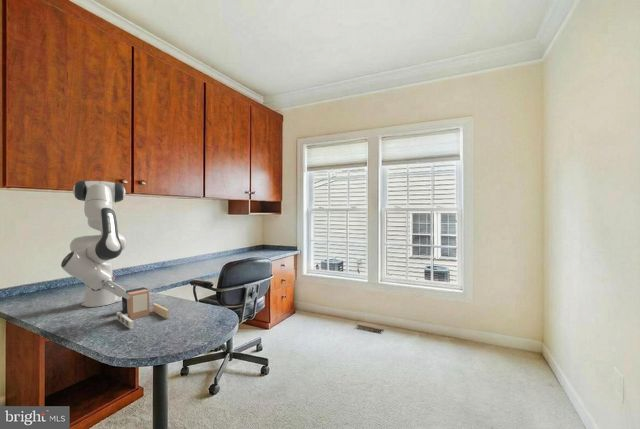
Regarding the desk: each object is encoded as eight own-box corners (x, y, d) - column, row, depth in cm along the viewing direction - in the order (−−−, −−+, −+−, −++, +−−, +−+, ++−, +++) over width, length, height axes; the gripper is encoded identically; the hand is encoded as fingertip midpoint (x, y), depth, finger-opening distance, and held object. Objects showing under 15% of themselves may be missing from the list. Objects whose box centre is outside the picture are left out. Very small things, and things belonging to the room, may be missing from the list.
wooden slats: (116, 319, 138) (115, 310, 138) (153, 310, 151) (153, 302, 151) (129, 329, 125) (129, 320, 125) (169, 318, 137) (169, 309, 137)
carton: (127, 317, 140) (126, 292, 140) (145, 312, 146) (145, 289, 146) (131, 319, 137) (130, 294, 137) (149, 315, 143) (149, 290, 143)
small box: (144, 305, 158) (143, 286, 158) (149, 308, 154) (148, 288, 154) (121, 311, 150) (121, 291, 150) (126, 313, 146) (125, 292, 146)
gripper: (112, 276, 125) (138, 294, 133) (100, 271, 139) (124, 287, 146) (99, 289, 122) (127, 306, 129) (88, 282, 135) (114, 298, 143)
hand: (125, 296), depth 138 cm, fingers open, 8 cm apart
